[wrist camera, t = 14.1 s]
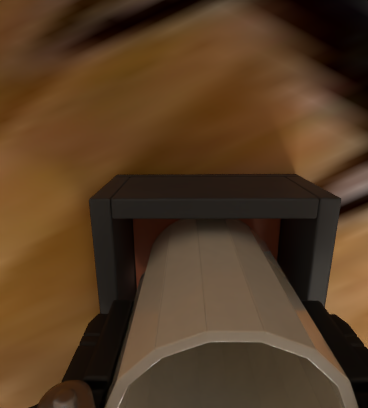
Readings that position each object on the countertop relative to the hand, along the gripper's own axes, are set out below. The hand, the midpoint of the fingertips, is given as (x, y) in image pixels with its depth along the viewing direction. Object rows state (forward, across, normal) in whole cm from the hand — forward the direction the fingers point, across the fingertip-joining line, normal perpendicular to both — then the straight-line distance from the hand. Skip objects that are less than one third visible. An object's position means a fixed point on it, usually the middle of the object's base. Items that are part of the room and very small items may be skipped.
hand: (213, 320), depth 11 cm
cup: (+4, 0, 0) cm, 4 cm away
